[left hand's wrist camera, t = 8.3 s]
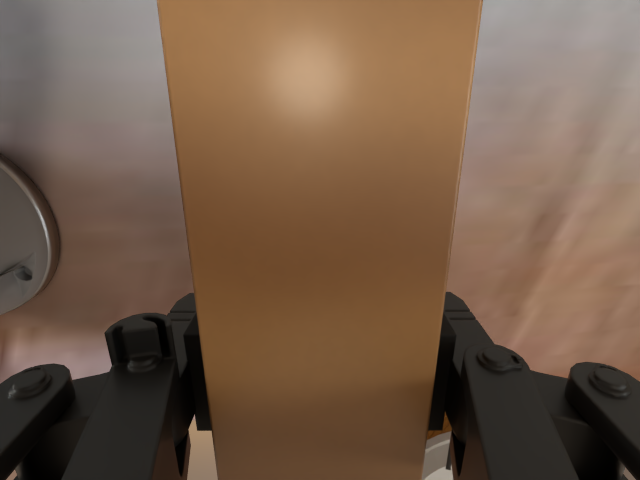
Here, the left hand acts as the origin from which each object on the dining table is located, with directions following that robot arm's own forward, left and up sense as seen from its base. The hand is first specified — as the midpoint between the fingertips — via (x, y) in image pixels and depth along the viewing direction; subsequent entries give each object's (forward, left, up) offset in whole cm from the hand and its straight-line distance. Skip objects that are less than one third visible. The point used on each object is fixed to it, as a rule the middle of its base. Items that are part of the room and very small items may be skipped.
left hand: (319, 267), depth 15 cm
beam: (+9, +28, -1) cm, 29 cm away
